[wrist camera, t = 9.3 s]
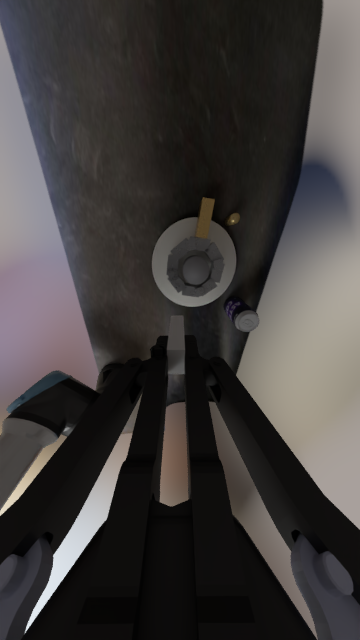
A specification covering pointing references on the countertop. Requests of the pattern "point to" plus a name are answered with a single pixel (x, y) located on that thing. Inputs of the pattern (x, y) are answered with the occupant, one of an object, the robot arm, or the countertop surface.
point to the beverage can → (241, 314)
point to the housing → (192, 262)
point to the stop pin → (232, 219)
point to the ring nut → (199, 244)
